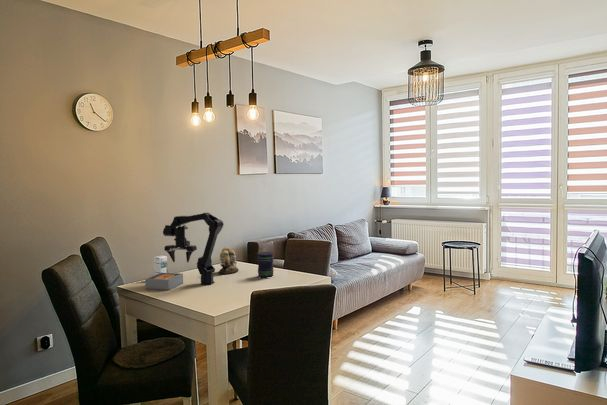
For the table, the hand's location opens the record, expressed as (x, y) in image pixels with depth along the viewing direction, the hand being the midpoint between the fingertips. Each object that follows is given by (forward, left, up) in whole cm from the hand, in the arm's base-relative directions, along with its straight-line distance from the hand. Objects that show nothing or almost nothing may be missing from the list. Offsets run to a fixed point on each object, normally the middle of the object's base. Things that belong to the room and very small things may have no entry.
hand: (180, 262), depth 249 cm
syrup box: (+16, -4, -12) cm, 21 cm away
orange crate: (+4, +12, -11) cm, 17 cm away
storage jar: (-47, -21, -12) cm, 53 cm away
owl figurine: (-18, -30, -12) cm, 37 cm away
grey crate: (+4, +12, -12) cm, 17 cm away
